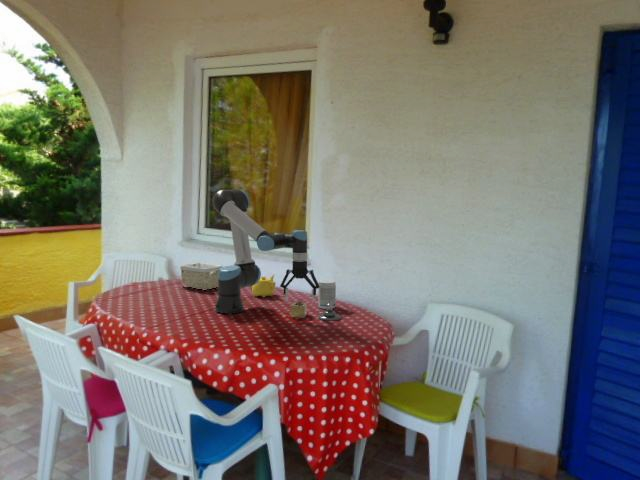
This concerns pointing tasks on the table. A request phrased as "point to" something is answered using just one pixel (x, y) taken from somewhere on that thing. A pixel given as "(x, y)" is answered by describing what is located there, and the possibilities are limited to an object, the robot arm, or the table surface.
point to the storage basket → (200, 275)
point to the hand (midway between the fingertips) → (299, 301)
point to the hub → (329, 314)
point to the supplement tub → (326, 293)
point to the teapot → (264, 287)
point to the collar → (299, 310)
